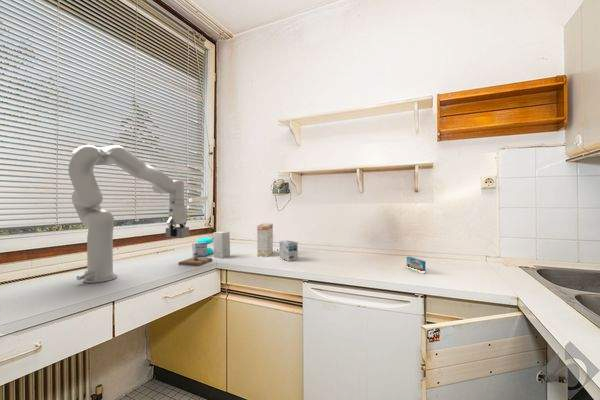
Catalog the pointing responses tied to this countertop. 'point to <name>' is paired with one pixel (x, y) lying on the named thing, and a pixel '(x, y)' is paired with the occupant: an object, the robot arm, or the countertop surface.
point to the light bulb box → (289, 250)
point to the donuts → (208, 241)
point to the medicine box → (199, 249)
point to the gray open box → (178, 232)
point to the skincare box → (221, 244)
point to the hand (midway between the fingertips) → (177, 235)
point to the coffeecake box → (264, 239)
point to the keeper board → (195, 261)
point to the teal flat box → (416, 263)
